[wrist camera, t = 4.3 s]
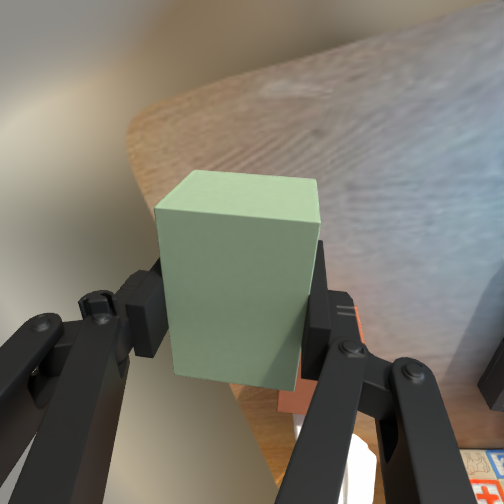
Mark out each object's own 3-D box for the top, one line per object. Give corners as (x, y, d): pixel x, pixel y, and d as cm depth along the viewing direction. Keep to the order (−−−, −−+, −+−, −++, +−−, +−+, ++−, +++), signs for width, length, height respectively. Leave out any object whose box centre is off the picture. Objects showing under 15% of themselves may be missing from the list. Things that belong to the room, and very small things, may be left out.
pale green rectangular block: (193, 169, 16) (153, 206, 12) (316, 178, 15) (321, 222, 11) (201, 310, 21) (173, 375, 16) (296, 322, 20) (294, 392, 16)
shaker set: (375, 442, 37) (400, 571, 28) (342, 450, 39) (354, 575, 29) (322, 377, 33) (329, 500, 24) (287, 389, 35) (281, 509, 25)
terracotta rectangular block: (288, 297, 29) (285, 337, 25) (356, 305, 28) (366, 347, 24) (280, 367, 34) (276, 411, 29) (339, 375, 33) (344, 421, 29)
